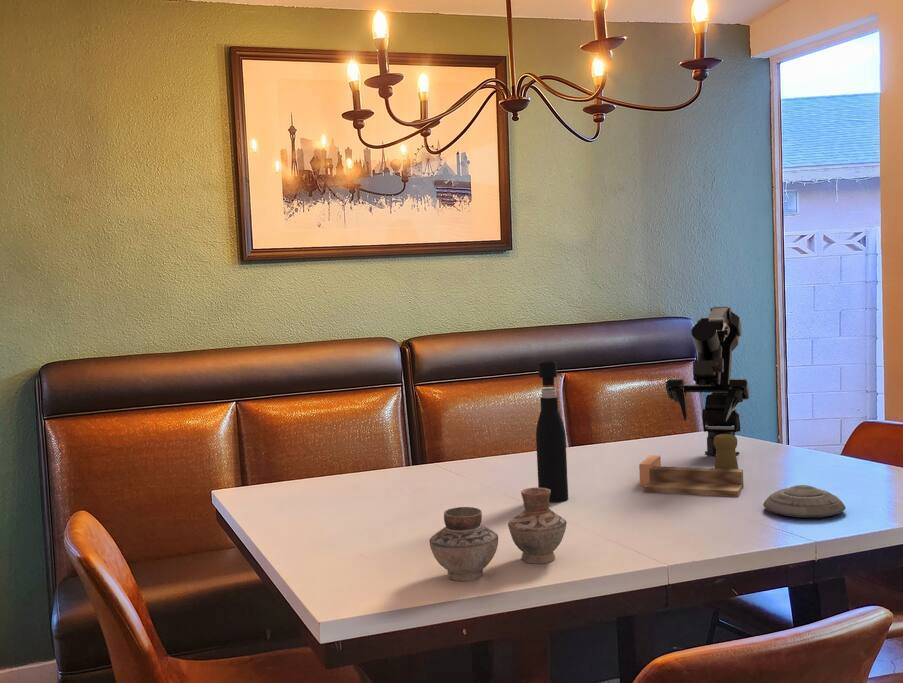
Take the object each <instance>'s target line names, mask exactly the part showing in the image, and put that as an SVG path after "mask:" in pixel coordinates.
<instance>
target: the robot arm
mask: <svg viewBox="0 0 903 683" xmlns="http://www.w3.org/2000/svg"><path fill="white" fill-rule="evenodd" d="M691 336H692V340H693V344H694V346H695V350H696V351H697V356H696V358H697V359H696V360H694V361H692V375H693V376H692V378H693V381H694V382H695V383H692V384H691V383H688V384H687V383H685V380H684V378H668V379H667V380H666V381H665V391H666V393H667V396H668V398H669V399H670V400H673V402H675V403H678V404H679V406H680V410H681V413H682V416H683V420H684V422H686V421H687V418H688V400H687V393H710V394H707V395H706V397H705V401H704V402H705V403H704V408H702V414H701V416H702V417H701V418H702V428H703V432H704V433H706V432H707V437H706V450H707V451H704V454H706V455H710V456H713V457H716V448H715V447H714V443H713V441H714V438H715V436H716V435H720V434H731V435H734V436H735V437H736V433H737V432H742V431H741V418H740V414H739V413H738V410H737V408H736V407H737V405H738V404H739V403H743V402H744V400H748V399H749V398H750V387H749V382H748V380H747V379H746V378H745V377H744V378H742V377H741V378H738V377H737V378H733V377H732V378H731V374H732V356H733V354H732V353H733V351H734V350H735V349H736V348H737V347H738V345H739V340H740V337H742V324H741V318H740V316H739V315H737V314H735V312H733V311H732V308H731V306H727V305H725V306H724V305H723V306H722V305H721V306H720V305H719V306H713V307H710V313H709V314H708V316H707V317H701V318H699V319H698V320H697V323H695V324H694V326H693V327H692V328H691ZM735 452H736V456H737V455H740V452H739V451H737V450H735Z"/></svg>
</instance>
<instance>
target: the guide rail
mask: <svg viewBox="0 0 903 683" xmlns="http://www.w3.org/2000/svg"><path fill="white" fill-rule="evenodd" d="M661 461H662V457H661V455H660V454H659V455H658V454H656V455H655V454H649V455H648V456H647V457H645V459H644V460H642V461H641V462H639V464H638V465H639V467H638V468H639V470H638V471H639V486H640V487H643V493H651V494H652V493H654V494H655V493H656V494H676V495H695V496H716V497H720V496H721V497H738V498H739V496H740V494H741V492H742V490H743V489H744V485H745V484H744V469H741V468H738V469H719V468H714V467H691V466H690V467H689V466H688V467H687V466H685V467H684V466H662V462H661Z"/></svg>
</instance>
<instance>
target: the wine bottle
mask: <svg viewBox="0 0 903 683" xmlns="http://www.w3.org/2000/svg"><path fill="white" fill-rule="evenodd" d="M557 365H558V364H557V362H556V361H554V360H552V361H550V360H547V361H546V360H545V361H539V362H538V377H539V378H541V380H542V384H541V385H542V386H541V387H543V388H542V389H541V397H540V400H539V401H540V413H539V414H538V419H537V423H536V431H535V440H536V441H535V442H536V443H535V444H536V446H535V447H536V462H537V464H536V465H537V466H536V467H537V483H538V487H537V488H548V489H550V490H551V493H550V498H549V504H550V503H551V504H552V503H562V502H566V501H568V500H569V485H568V484H569V483H568V482H569V480H568V463H567V462H568V461H567V438H566V430H565V429H566V428H565V425H564V422H563V419H562V416H561V413H560V411H559V398H558V396H557V395H558V394H557V390H556V388H554V387H555V378H557V377H558V369H557V368H558V367H557Z"/></svg>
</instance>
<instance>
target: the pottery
mask: <svg viewBox="0 0 903 683" xmlns="http://www.w3.org/2000/svg"><path fill="white" fill-rule="evenodd" d="M550 493H551V490H550V489H548V488H538V487H529V488H525V489H522V490H521V491H520V494H521V498H522V502H523V506H524V510H523V511H521V512H519V513H518V514H516V515H515V516H514V517H512V518H511V519H510V520H509V521H508V523H507V527H508V530H509V533H510V536H511V540H512V541H513V544H515V546H516V547H517V549H519V550H520V551H521V552H522V554H521V560H522V561H523V562H525V563H528V564H535V565H538V564H549V563H553V561H555V559H556V555H555V552H554V551H555V550H557V548H558V547H559V545H560V544H561V543H562V540H563V539H564V535H565V533H566V529H567V524H568V523H567V520H566V519H565V518H563V517H562V516H561V515H559V514H558V513H556V512H555V511H553V510H552V509H550V502H549V498H550ZM482 515H483V513H482V509H480V508H477V507H471V506H460V507H452V508H448V509H446V510H444V511H443V521H444V525H445V527H443V528H441V529H440V530H438V531H437V532H436V533H435V534H433V535H432V536H431V537H430V538H429V540H428V541H429V548H430V550H431V553H432V555H433V557H434V559H435V560H436V561H437V563H438V564H439V565H440V566H441V567H443V568H444V569H445V570H447V576H448V578H449V579H450V580H452V581H455V582H456V581H457V582H458V581H459V582H471V581H475V580H478V579H481V578H482V577H483V576H484V569H485V568H486V567H487V566H488V565H489V564H490V563H491V561H492V559H494V557H495V554H496V553H497V549H498V545H499V534H498V533H497V532H495V531H493V530H492V529H490V528H489V527H487V526H485V525H483V524H481V523H482V518H483V516H482Z"/></svg>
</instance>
